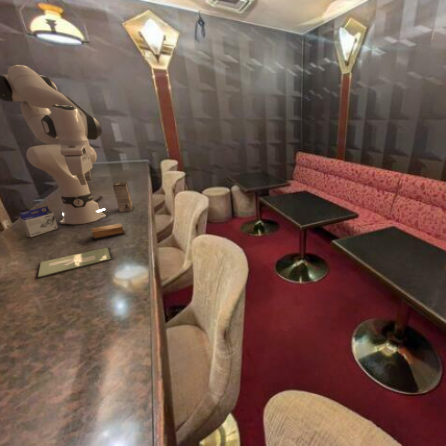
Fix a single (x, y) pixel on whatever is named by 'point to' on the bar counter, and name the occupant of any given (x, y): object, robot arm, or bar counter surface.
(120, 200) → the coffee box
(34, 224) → the ink box
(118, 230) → the eraser
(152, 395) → the bar counter surface
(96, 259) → the chalk board
